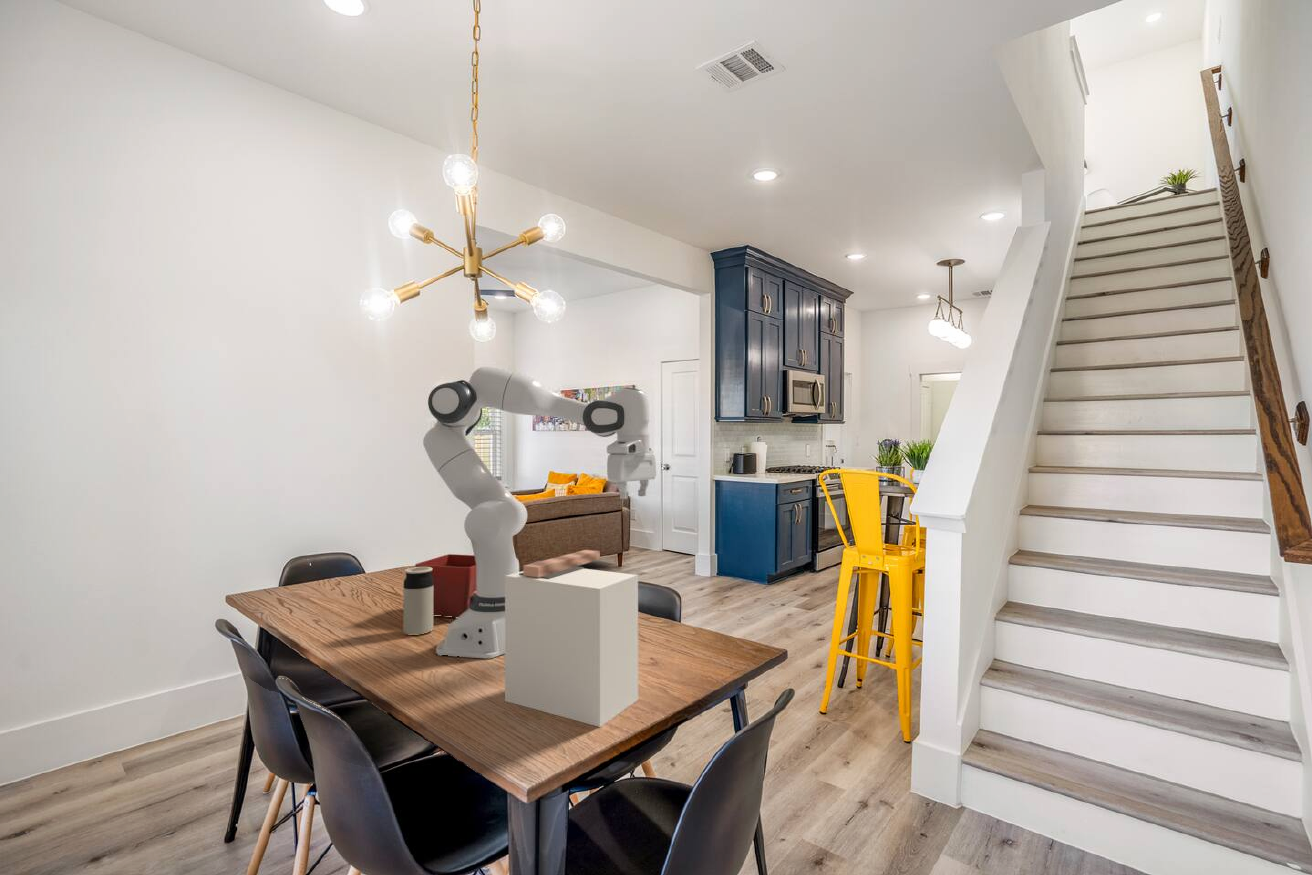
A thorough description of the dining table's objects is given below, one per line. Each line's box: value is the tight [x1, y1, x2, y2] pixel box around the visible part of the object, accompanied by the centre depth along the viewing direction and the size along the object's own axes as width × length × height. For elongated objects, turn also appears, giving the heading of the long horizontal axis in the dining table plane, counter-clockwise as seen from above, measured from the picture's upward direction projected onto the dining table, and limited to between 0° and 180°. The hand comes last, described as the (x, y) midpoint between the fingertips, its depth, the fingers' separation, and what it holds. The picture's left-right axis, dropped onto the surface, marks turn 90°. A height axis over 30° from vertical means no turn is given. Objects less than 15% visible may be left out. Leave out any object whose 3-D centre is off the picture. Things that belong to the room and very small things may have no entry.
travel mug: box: [402, 566, 434, 634], centre depth 171 cm, size 8×8×18 cm
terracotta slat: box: [523, 549, 601, 577], centre depth 132 cm, size 22×4×2 cm, turn 151°
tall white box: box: [504, 566, 639, 728], centre depth 125 cm, size 14×24×26 cm, turn 61°
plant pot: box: [414, 553, 476, 617], centre depth 191 cm, size 19×19×17 cm
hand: (633, 497), depth 163 cm, fingers open, 8 cm apart
